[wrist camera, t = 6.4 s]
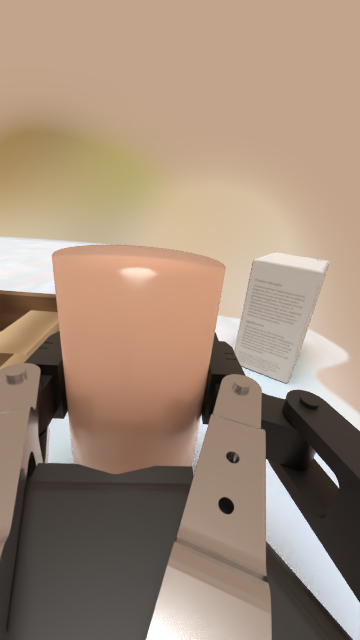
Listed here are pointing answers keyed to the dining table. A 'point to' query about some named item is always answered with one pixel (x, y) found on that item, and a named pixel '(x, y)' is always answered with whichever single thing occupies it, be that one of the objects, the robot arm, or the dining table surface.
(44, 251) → the dining table surface
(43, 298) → the keyhole track
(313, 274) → the small box
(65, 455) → the dining table surface
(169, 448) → the salmon orange cylinder
